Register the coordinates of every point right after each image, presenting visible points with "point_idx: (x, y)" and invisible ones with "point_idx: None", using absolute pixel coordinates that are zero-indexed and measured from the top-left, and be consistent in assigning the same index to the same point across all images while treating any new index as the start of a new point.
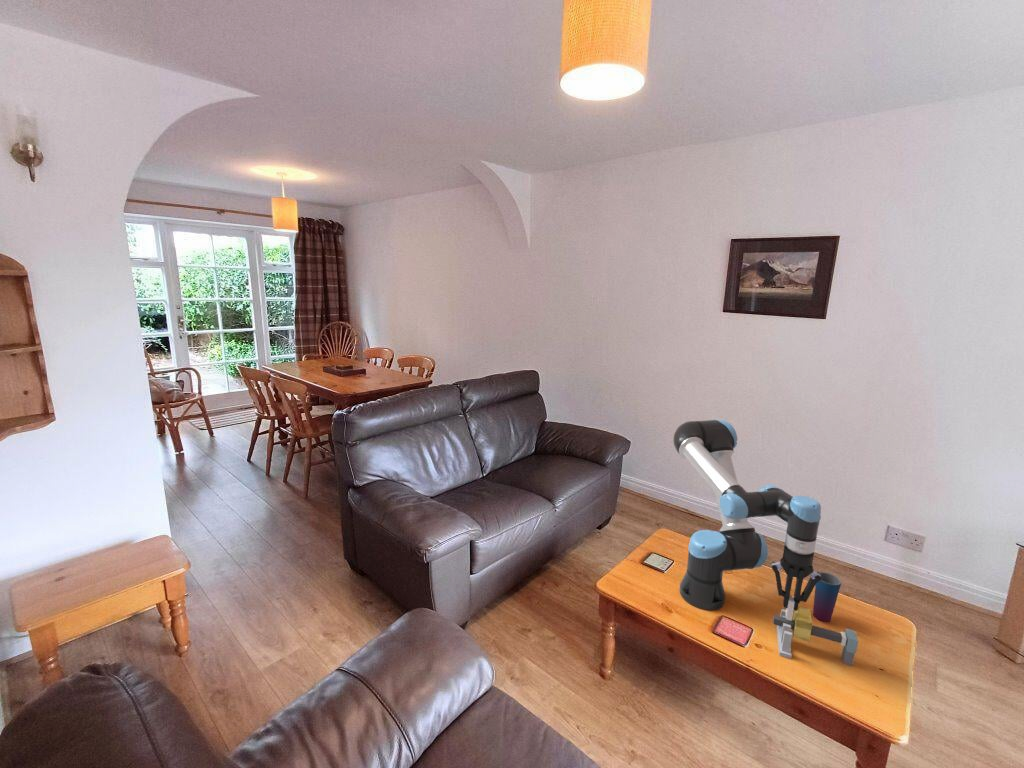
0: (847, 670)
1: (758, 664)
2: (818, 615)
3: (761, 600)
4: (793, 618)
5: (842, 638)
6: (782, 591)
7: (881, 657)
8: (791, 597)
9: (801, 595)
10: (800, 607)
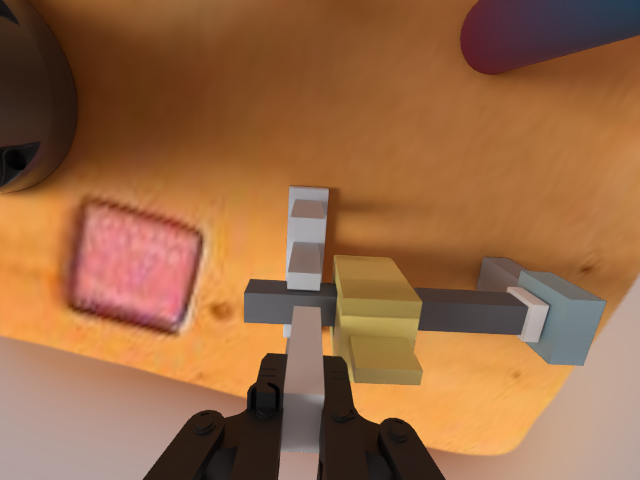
0: None
1: (221, 385)
2: (483, 61)
3: (241, 4)
4: (337, 274)
5: (519, 338)
6: (217, 472)
7: (620, 211)
8: (304, 409)
9: (377, 464)
10: (364, 372)
